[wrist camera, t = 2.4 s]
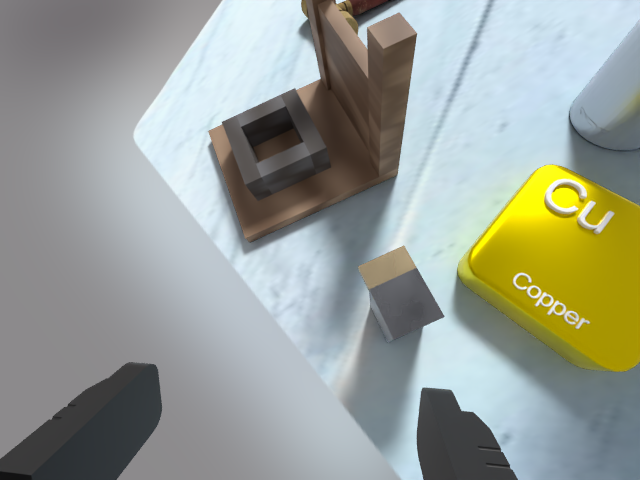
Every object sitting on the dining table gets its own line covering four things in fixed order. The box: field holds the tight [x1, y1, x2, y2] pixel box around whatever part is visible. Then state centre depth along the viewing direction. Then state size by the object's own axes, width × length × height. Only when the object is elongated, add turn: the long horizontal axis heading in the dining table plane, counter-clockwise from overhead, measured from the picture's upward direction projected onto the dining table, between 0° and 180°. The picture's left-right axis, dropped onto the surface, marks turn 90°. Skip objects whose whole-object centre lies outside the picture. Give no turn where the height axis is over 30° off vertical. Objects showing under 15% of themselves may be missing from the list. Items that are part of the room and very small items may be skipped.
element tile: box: [457, 165, 640, 372], centre depth 29 cm, size 15×15×5 cm
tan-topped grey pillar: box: [358, 246, 444, 342], centre depth 28 cm, size 4×6×10 cm, turn 23°
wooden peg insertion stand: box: [208, 0, 417, 242], centre depth 32 cm, size 20×18×18 cm
